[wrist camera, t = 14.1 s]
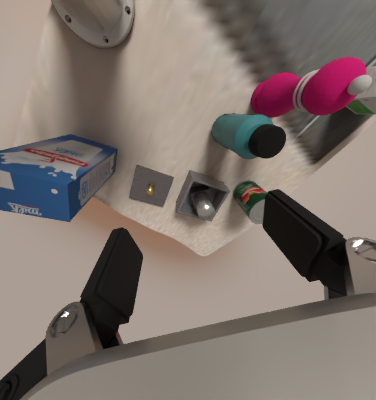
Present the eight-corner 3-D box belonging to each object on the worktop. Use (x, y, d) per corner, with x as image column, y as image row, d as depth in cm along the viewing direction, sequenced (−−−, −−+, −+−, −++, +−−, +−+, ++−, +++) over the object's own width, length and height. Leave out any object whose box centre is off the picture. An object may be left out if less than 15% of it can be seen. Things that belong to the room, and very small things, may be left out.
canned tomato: (245, 205, 48) (263, 228, 39) (228, 195, 45) (242, 217, 36) (262, 187, 45) (286, 207, 36) (245, 175, 42) (266, 193, 33)
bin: (176, 201, 44) (176, 212, 40) (189, 169, 39) (192, 177, 35) (207, 210, 47) (211, 221, 43) (223, 182, 42) (230, 191, 38)
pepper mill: (285, 80, 31) (426, 42, 14) (272, 118, 35) (369, 125, 18) (255, 75, 30) (366, 27, 13) (244, 115, 34) (320, 118, 17)
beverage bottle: (215, 147, 37) (253, 178, 20) (205, 121, 33) (240, 132, 17) (238, 134, 36) (300, 155, 19) (230, 106, 32) (297, 101, 15)
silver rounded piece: (189, 187, 42) (194, 207, 33) (206, 183, 41) (215, 202, 33) (192, 202, 44) (198, 223, 36) (209, 198, 44) (218, 218, 36)
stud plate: (129, 196, 42) (126, 203, 38) (137, 164, 37) (134, 169, 34) (162, 205, 44) (162, 212, 41) (173, 177, 40) (173, 182, 37)
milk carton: (71, 160, 35) (-22, 206, 18) (70, 134, 32) (-43, 159, 15) (115, 172, 37) (69, 222, 21) (117, 148, 34) (67, 185, 18)
